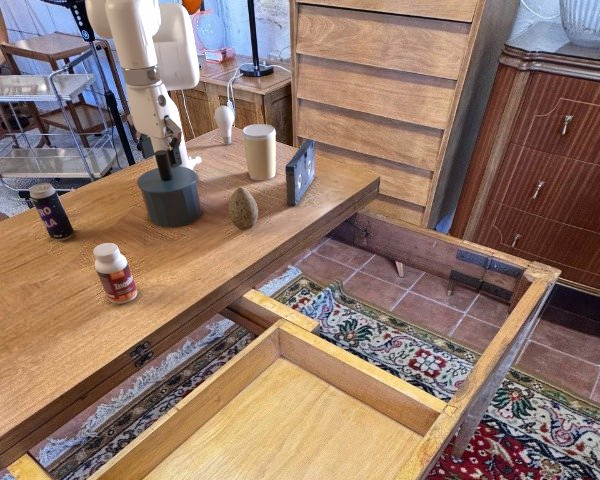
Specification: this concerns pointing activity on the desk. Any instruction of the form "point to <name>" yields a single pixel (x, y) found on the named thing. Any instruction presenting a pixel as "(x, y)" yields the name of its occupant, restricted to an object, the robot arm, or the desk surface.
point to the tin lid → (166, 177)
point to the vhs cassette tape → (300, 172)
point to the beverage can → (51, 211)
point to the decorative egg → (243, 209)
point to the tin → (173, 207)
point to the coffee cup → (260, 150)
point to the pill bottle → (114, 273)
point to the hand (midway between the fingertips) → (162, 161)
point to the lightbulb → (224, 122)
